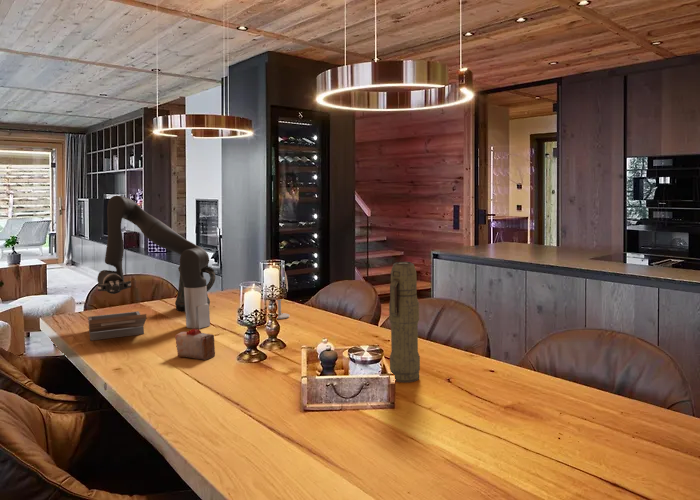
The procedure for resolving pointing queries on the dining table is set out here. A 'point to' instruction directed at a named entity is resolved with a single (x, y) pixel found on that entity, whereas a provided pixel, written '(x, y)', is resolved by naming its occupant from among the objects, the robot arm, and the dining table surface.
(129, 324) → the panel
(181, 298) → the beer stein
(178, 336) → the food item
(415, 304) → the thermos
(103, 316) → the tray
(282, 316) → the wineglass
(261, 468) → the dining table surface
